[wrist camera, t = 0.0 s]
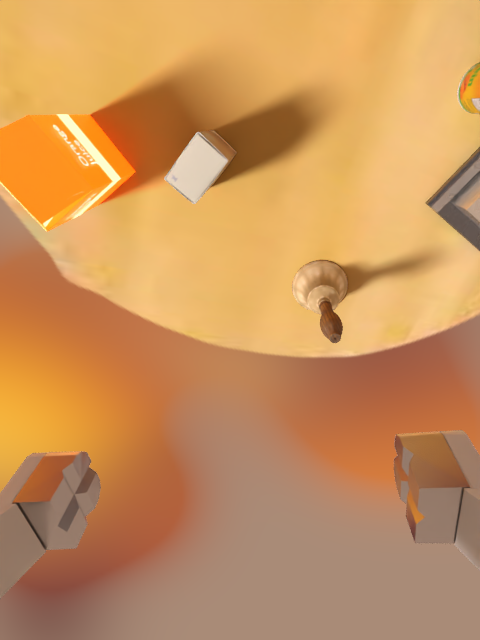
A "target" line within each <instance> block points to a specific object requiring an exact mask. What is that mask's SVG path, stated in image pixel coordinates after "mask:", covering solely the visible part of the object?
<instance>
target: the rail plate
mask: <svg viewBox="0 0 480 640" xmlns="http://www.w3.org/2000/svg"><path fill="white" fill-rule="evenodd" d="M426 204H427V205H428V206H429V207H431V208H432V209H433V210H434V211H435V212H436V213H437V214H438V215H440V216H441V217H442V218H443V219H444V220H445V221H446V222H447V223H449V224H450V225H451V226H452V227H453V228H454V229H455V230H457V231H458V232H459V233H460V234H461V235H462V236H463V237H464V238H466V239H467V240H468V241H469V242H470V243H471V244H472V245H473V246H475V247H476V248H477V249H478V250H479V251H480V147H479V148H478V149H477V150H476V151H475V153H474V154H473V155H472V156H471V157H470V158H469V159H468V160H467V161H466V162H465V163H464V164H463V165H462V166H461V167H460V168H459V169H458V170H457V171H456V172H455V173H454V174H453V175H452V176H451V177H450V178H449V179H448V180H447V181H446V182H445V184H444V185H443V186H442V187H441V188H440V189H439V190H438V191H437V192H436V193H435V194H434V195H433V196H432V197H431V198H430V199H429V200H428V201H427V202H426Z"/></svg>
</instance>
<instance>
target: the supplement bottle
mask: <svg viewBox="0 0 480 640" xmlns="http://www.w3.org/2000/svg"><path fill="white" fill-rule="evenodd" d="M457 97H458V101H459V104H460V106H461V107H462V108H463V109H464V110H465V111H467V112H469V113H473V114H480V63H477V64H476V65H474V66H473V67H471V68H470V69H469V70H468V71H467V72H466V73H465V74H464V76H463V77H462V79H461V81H460V84H459V87H458V92H457Z"/></svg>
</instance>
